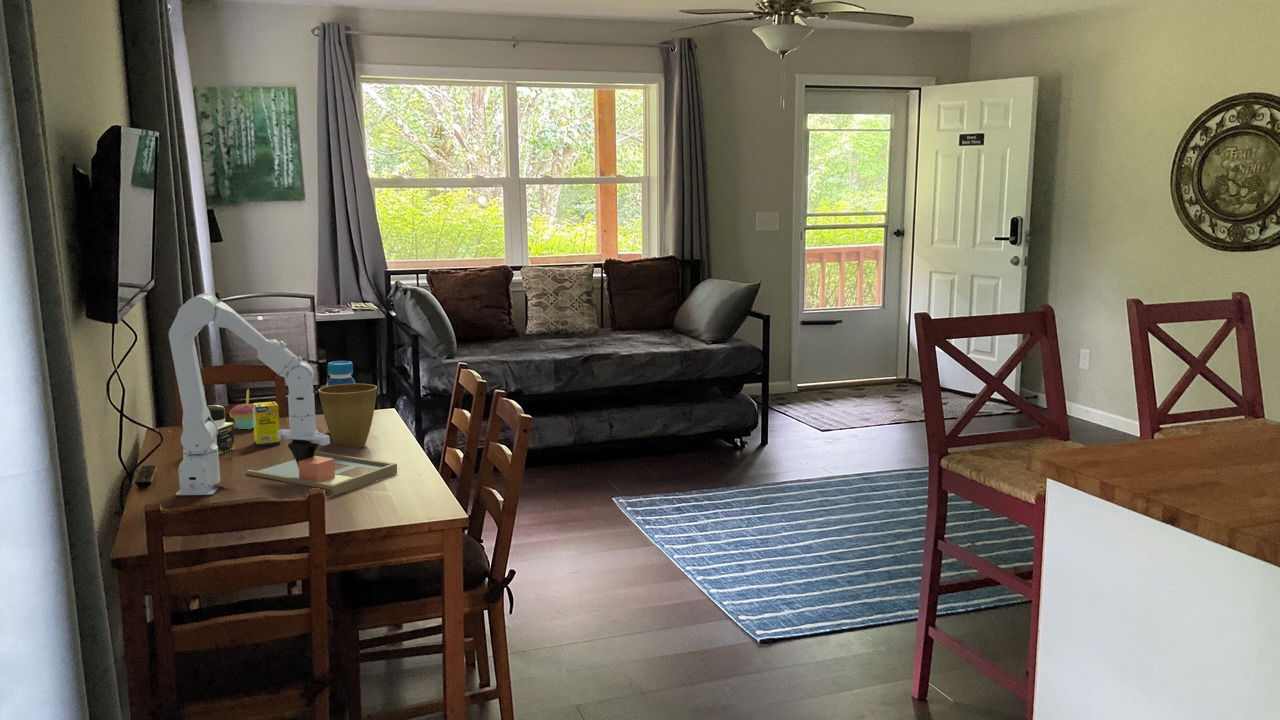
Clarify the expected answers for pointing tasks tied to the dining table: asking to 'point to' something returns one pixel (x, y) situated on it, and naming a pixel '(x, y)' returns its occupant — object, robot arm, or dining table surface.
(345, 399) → the plant pot
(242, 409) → the cupcake
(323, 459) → the block
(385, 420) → the dining table surface
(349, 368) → the beverage bottle
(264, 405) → the supplement box
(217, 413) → the medicine bottle
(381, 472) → the shallow rimmed tray
